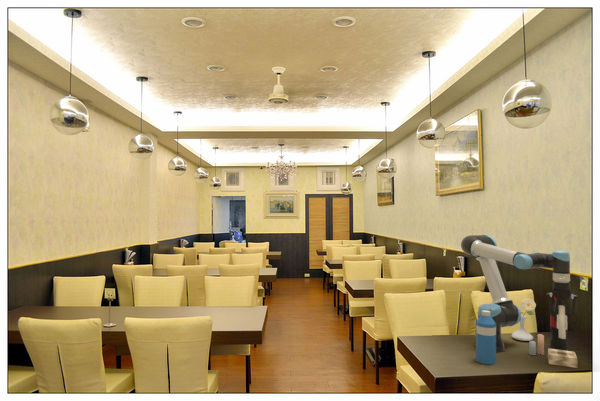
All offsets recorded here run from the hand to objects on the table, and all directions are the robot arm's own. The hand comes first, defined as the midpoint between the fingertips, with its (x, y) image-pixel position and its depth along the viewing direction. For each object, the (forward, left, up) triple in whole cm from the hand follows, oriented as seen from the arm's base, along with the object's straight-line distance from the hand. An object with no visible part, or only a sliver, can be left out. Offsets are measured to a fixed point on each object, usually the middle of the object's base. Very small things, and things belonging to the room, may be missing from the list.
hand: (562, 328), depth 219 cm
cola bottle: (0, +21, -17) cm, 27 cm away
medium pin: (-9, +10, -17) cm, 22 cm away
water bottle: (-34, -17, -17) cm, 42 cm away
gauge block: (0, 0, -17) cm, 17 cm away
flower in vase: (-17, +35, -17) cm, 43 cm away
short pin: (-13, +6, -17) cm, 22 cm away
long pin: (0, 0, -5) cm, 5 cm away
